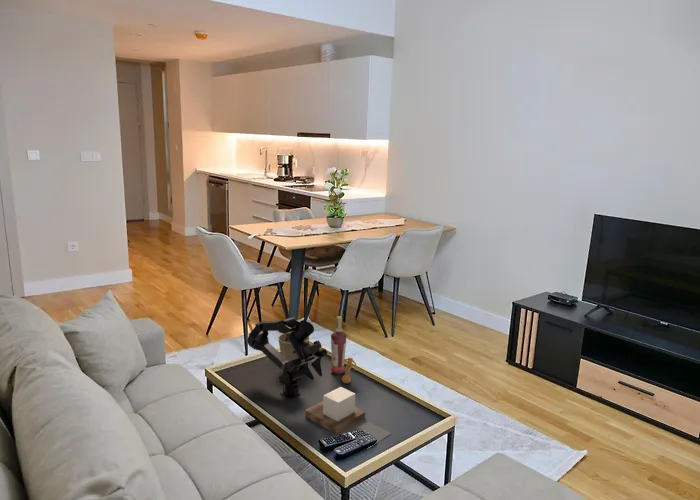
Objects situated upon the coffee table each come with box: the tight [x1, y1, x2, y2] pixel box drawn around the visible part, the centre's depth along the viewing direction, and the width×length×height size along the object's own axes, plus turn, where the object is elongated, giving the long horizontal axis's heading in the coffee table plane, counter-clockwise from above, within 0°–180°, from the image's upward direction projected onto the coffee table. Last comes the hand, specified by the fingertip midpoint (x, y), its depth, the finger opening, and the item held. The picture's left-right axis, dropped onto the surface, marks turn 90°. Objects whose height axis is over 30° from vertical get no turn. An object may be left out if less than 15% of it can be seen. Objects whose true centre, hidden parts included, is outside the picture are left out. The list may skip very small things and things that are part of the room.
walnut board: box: [304, 401, 366, 435], centre depth 205 cm, size 18×16×3 cm
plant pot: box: [278, 331, 311, 361], centre depth 246 cm, size 15×15×16 cm
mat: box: [339, 419, 392, 450], centre depth 195 cm, size 14×14×1 cm
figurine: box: [341, 357, 357, 384], centre depth 234 cm, size 8×6×12 cm
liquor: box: [330, 315, 347, 375], centre depth 241 cm, size 7×7×28 cm
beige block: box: [322, 386, 356, 421], centre depth 202 cm, size 8×10×8 cm
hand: (317, 377), depth 209 cm, fingers open, 4 cm apart
